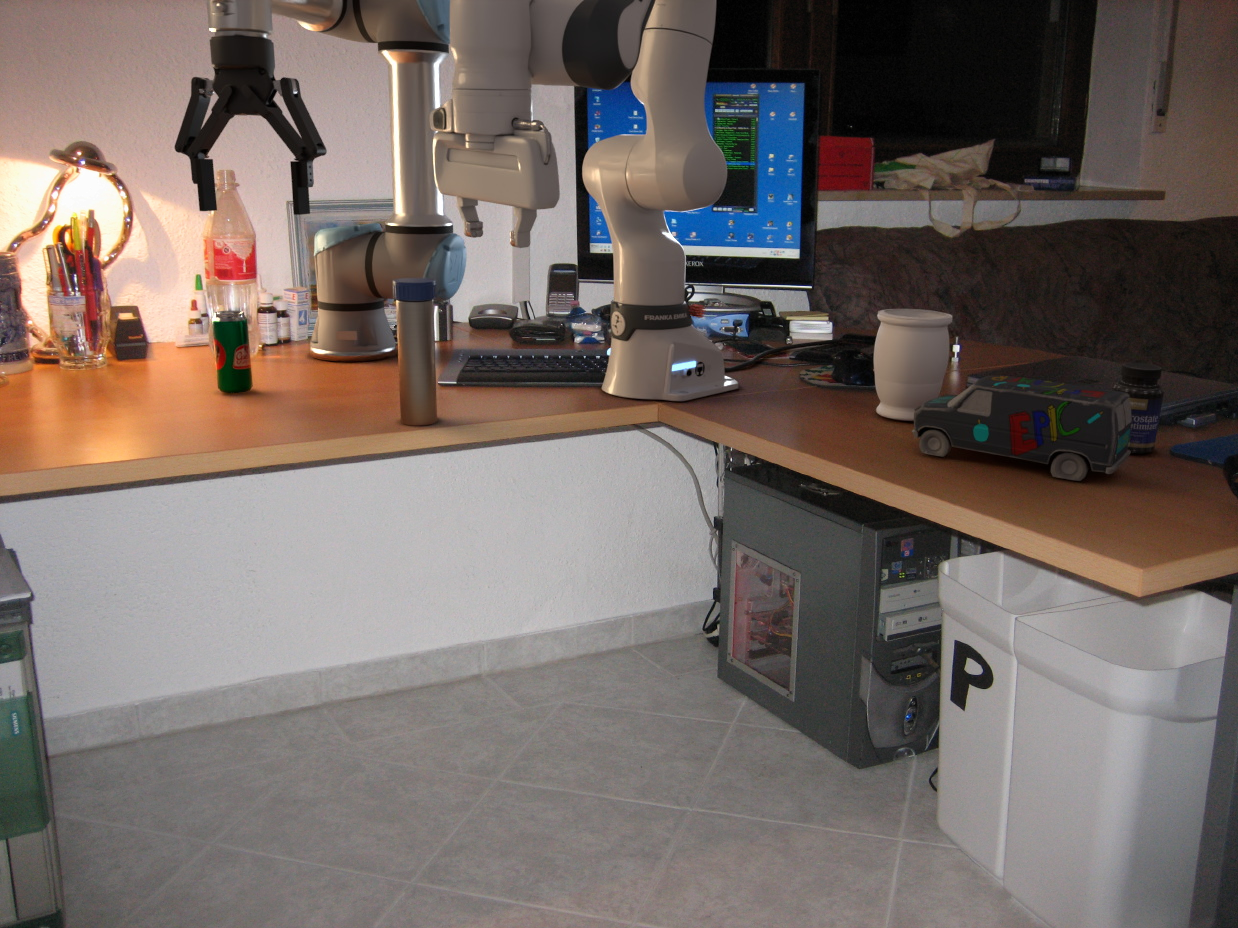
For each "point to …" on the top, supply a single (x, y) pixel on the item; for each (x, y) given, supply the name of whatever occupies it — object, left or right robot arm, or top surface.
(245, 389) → the soda can
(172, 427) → the top surface
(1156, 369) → the pill bottle
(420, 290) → the lid
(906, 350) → the jar
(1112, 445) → the toy van
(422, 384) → the metal bottle
